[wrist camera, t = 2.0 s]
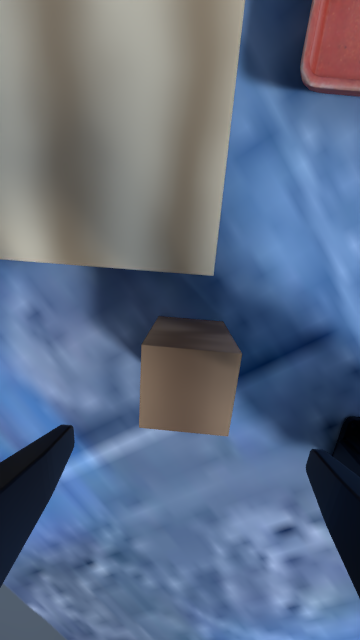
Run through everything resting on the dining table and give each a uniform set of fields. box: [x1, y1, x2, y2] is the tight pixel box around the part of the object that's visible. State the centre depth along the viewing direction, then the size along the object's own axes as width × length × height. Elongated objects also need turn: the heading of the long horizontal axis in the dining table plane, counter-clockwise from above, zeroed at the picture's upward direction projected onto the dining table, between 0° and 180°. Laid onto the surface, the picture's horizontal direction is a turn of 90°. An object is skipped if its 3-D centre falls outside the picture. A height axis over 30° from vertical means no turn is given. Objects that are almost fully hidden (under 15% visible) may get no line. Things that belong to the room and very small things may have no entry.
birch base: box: [0, 0, 245, 276], centre depth 12 cm, size 16×16×3 cm
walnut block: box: [139, 316, 242, 436], centre depth 14 cm, size 5×5×6 cm
